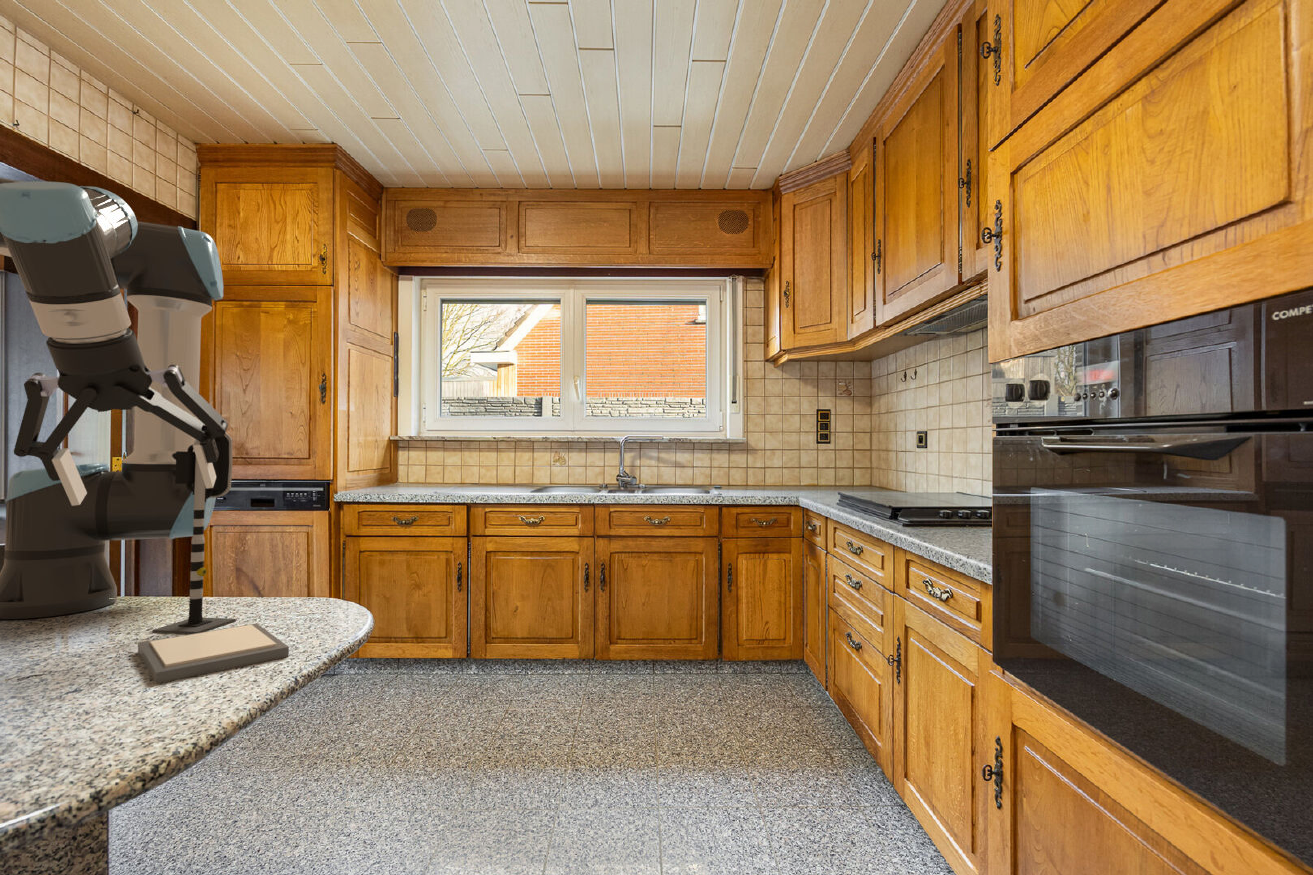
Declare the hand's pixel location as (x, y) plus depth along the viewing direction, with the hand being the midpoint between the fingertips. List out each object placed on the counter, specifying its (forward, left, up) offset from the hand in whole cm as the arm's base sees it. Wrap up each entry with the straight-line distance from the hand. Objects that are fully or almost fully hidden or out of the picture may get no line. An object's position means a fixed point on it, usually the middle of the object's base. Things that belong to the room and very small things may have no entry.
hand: (147, 491), depth 78 cm
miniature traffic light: (-10, +7, -21) cm, 24 cm away
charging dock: (+7, +6, -21) cm, 23 cm away
